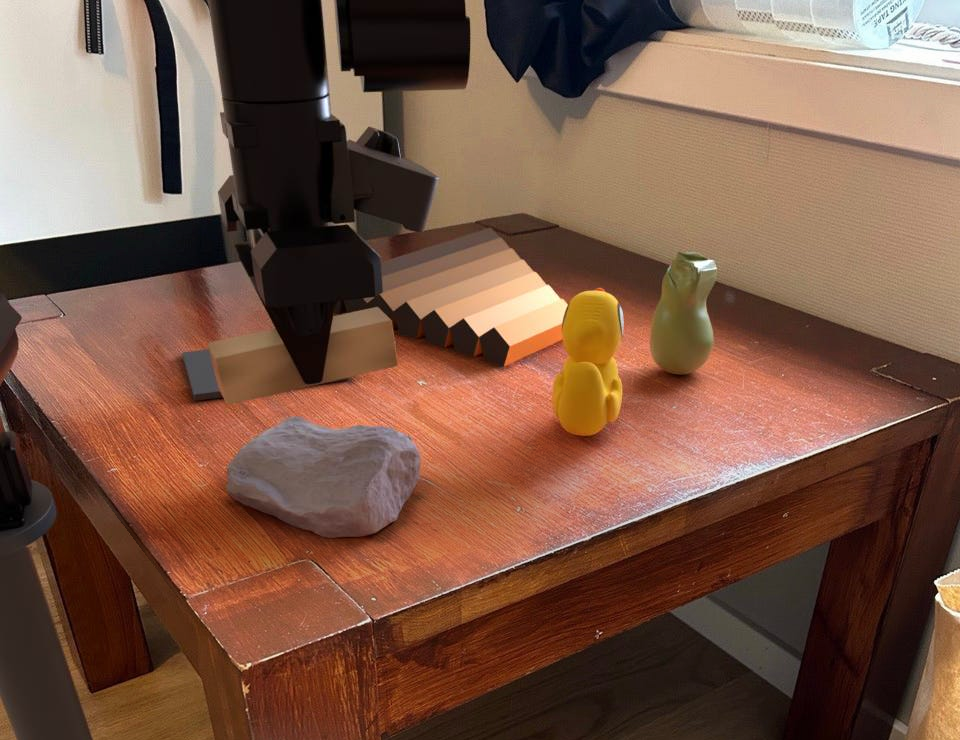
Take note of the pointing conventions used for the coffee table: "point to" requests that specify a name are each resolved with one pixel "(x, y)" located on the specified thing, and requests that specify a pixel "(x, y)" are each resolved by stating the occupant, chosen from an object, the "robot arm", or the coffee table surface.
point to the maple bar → (270, 370)
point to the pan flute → (469, 299)
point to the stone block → (326, 476)
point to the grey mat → (205, 375)
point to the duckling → (589, 364)
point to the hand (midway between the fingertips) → (308, 373)
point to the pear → (684, 315)
